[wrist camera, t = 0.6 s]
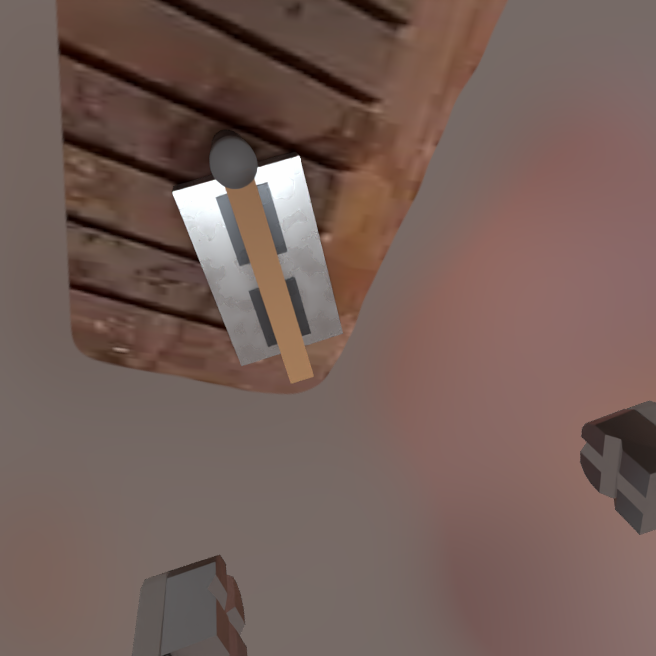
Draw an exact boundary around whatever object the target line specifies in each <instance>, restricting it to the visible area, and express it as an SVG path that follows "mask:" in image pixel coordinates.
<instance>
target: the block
mask: <svg viewBox="0 0 656 656" xmlns="http://www.w3.org/2000/svg"><path fill="white" fill-rule="evenodd" d="M226 136H235V137H239V138H241V137H240V135H239V134H237V133H236V132H234V131H232V130H222V131H220V132H218V133H217V134H216V135H215V136H214V138H213V140H212V146H213V145H214V144H215V142H216V141H218V140H219V139H221V138H223V137H226ZM241 139H242V138H241ZM257 163H258V169H257V173H256V176H255V178H254V179H255V182H256V185H257V189H258V192H259V195H260V199H261V202H262V205H263V209H264V212H265V215H266V219H267V222H268V225H269V229H270V232H271V235H272V239H273V242H274V245H275V249H276V252H277V255H278V259H279V262H280V265H281V269H282V272H283V275H284V279H285V282H286V285H287V289H288V292H289V295H290V299H291V302H292V305H293V309H294V312H295V315H296V318H297V322H298V325H299V328H300V332H301V335H302V338H303V342H304V345H309V344H312V343H315V342H318V341H321V340H324V339H327V338H330V337H333V336H337V335H340V334H343V332H342V328H341V324H340V320H339V316H338V312H337V307H336V303H335V299H334V295H333V291H332V287H331V283H330V279H329V275H328V270H327V266H326V262H325V258H324V254H323V250H322V246H321V242H320V238H319V234H318V229H317V225H316V221H315V217H314V213H313V209H312V205H311V201H310V197H309V193H308V188H307V184H306V180H305V176H304V172H303V168H302V164H301V160H300V156H299V155H298V154H297V153H296V152H291V153H288V154H284V155H280V156H277V157H273V158H270V159H266V160H263V161H259V162H257ZM172 193H173V195H174V198H175V200H176V203H177V205H178V208H179V210H180V213H181V215H182V218H183V220H184V223H185V226H186V228H187V231H188V233H189V236H190V238H191V241H192V243H193V246H194V248H195V251H196V253H197V256H198V258H199V261H200V263H201V266H202V268H203V271H204V273H205V276H206V278H207V281H208V283H209V286H210V288H211V291H212V293H213V296H214V298H215V301H216V303H217V306H218V308H219V311H220V313H221V316H222V318H223V321H224V323H225V326H226V328H227V331H228V333H229V336H230V338H231V341H232V343H233V346H234V348H235V351H236V353H237V356H238V358H239V361H240V363H241V366H243V365H246V364H250V363H253V362H256V361H259V360H262V359H265V358H268V357H271V356H274V355H278V354H281V352H280V349H279V346H278V343H277V340H276V337H275V334H274V331H273V329H272V326H271V323H270V320H269V317H268V314H267V311H266V308H265V305H264V302H263V299H262V296H261V293H260V290H259V287H258V284H257V281H256V278H255V275H254V272H253V269H252V266H251V263H250V260H249V257H248V254H247V251H246V248H245V245H244V242H243V239H242V236H241V234H240V231H239V228H238V225H237V222H236V219H235V216H234V213H233V210H232V207H231V204H230V201H229V198H228V195H227V192H226V189H225V187H224V186H223V185H221V184H220V183H218V182H217V180H216V179H215V178H214V176H213V175H210V176H207V177H203V178H199V179H196V180H192V181H189V182H185V183H182V184H178V185H175V186H173V190H172Z"/></svg>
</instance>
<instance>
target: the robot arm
mask: <svg viewBox="0 0 656 656" xmlns="http://www.w3.org/2000/svg"><path fill="white" fill-rule="evenodd" d="M581 437H582V438H583V439H584V440H585V441H586V442H587V443H586V444H585V446H584V447H583V449H582V450H581V451H580V463H581V466H582V468H583V471H584V473H585V475H586V477H587V478H588V480H589V481H590V483H591V484H592V485H593V486H594V487H595V489H596V490H597V491H598V492H599V493H601V494H604V495H606V496H609V497H611V498H614V505H615V510H616V511H617V512H618V513H619V514H620V515H621V516H622V517H623V518H624V519H625V520H626V521H627V522H628V523H629V524H630V525H631V526H632V527H633V528H634V529H635V530H636V531H637V533H638V534H639V535H641V534H644V533H647V532H650V531H652V530H655V529H656V402H652V401H647V402H644V403H641V404H638V405H635V406H633V407H630V408H627V409H623V410H620V411H617V412H615V413H612V414H609V415H607V416H604V417H601V418H599V419H596V420H593V421H591V422H588V423H586V424H585V425H584V426H583V428H582V435H581ZM244 625H245V617H244V607H243V603H242V598H241V594H240V590H239V588H238V585H237V583H236V581H235V579H234V577H233V576H230V575H227V573H226V563H225V561H224V560H223V558H222V557H221V555H217V556H214V557H211V558H208V559H205V560H201V561H199V562H195V563H192V564H189V565H186V566H183V567H180V568H177V569H174V570H171V571H168V572H165V573H162V574H159V575H156V576H153V577H151V578H148V579H145V580H144V583H143V585H142V587H141V590H140V598H139V606H138V613H137V621H136V628H135V636H134V644H133V651H132V656H247V647H246V645H245V643H244V642H243V640H242V638H241V637H240V634H241V632H242V630H243V628H244Z"/></svg>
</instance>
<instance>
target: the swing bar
mask: <svg viewBox="0 0 656 656" xmlns="http://www.w3.org/2000/svg"><path fill="white" fill-rule="evenodd" d="M209 160H210V169H211V172H212V174H213V176H214V178H215V179H216V180H217V182H218V183H220V184H221V185H223V186H224V187H225V189H226V192H227V195H228V198H229V201H230V204H231V207H232V210H233V213H234V216H235V219H236V222H237V225H238V228H239V231H240V234H241V236H242V239H243V242H244V245H245V248H246V251H247V254H248V257H249V260H250V263H251V266H252V269H253V272H254V275H255V278H256V281H257V284H258V287H259V290H260V293H261V296H262V299H263V302H264V305H265V308H266V311H267V314H268V317H269V320H270V323H271V326H272V329H273V331H274V334H275V337H276V340H277V343H278V346H279V349H280V352H281V355H282V358H283V361H284V364H285V367H286V370H287V373H288V376H289V379H290V382H291V384H292V383H295V382H298V381H301V380H304V379H307V378H310V377H313V376H314V375H313V372H312V368H311V365H310V362H309V358H308V355H307V352H306V348H305V345H304V342H303V338H302V335H301V332H300V328H299V325H298V322H297V318H296V315H295V312H294V309H293V305H292V302H291V299H290V295H289V292H288V289H287V285H286V282H285V279H284V275H283V272H282V269H281V265H280V262H279V259H278V255H277V252H276V249H275V245H274V242H273V239H272V235H271V232H270V229H269V225H268V222H267V219H266V215H265V212H264V209H263V205H262V202H261V199H260V195H259V192H258V189H257V185H256V182H255V179H254V178H255V176H256V173H257V169H258V163H257V158H256V156H255V154H254V152H253V150H252V149H251V147H250V146H249V144H248V143H247V142H246V141H244V140H243V139H241V138H239V137H235V136H226V137H223V138H221V139H219V140H218V141H216V142H215V144H214V145H213V146H212V148H211V151H210V156H209Z"/></svg>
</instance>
